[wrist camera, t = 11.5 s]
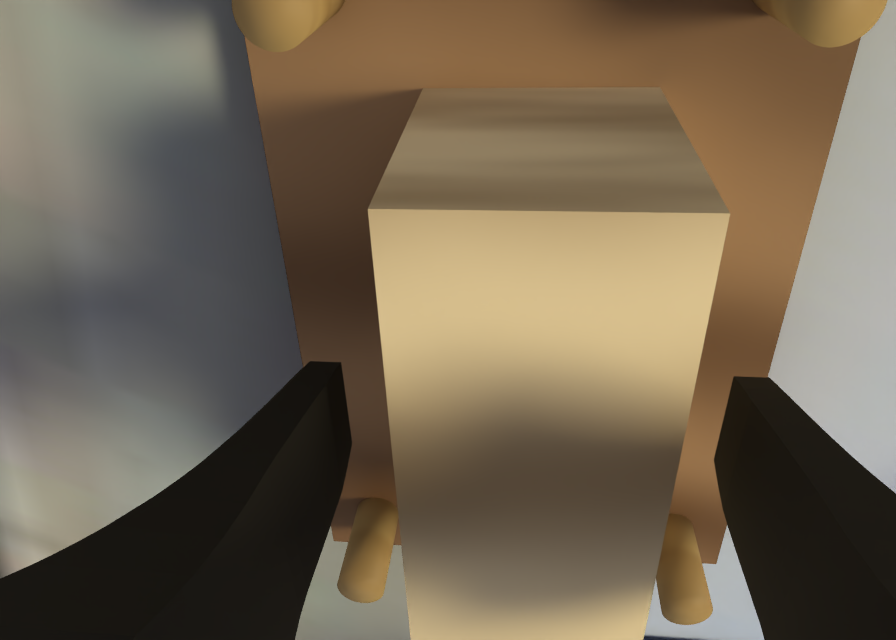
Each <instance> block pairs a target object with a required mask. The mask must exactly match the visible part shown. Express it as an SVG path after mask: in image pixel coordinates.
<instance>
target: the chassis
mask: <svg viewBox="0 0 896 640" xmlns="http://www.w3.org/2000/svg"><path fill="white" fill-rule="evenodd" d="M886 3H887V0H232V10H233V15H234V18H235V21H236V23H237V25H238V27H239V29H240V30H241V32H242V33H243V34H244V36H245V42H246V48H247V53H248V59H249V65H250V70H251V76H252V82H253V87H254V93H255V99H256V104H257V110H258V115H259V121H260V127H261V132H262V138H263V144H264V149H265V155H266V161H267V166H268V172H269V178H270V183H271V189H272V195H273V200H274V206H275V212H276V217H277V223H278V228H279V234H280V240H281V245H282V251H283V257H284V262H285V268H286V274H287V279H288V285H289V291H290V296H291V302H292V308H293V313H294V319H295V325H296V330H297V336H298V342H299V347H300V353H301V358H302V364H303V367H304V366H305V365H306V364H307V363H309V362H310V361H321V362H341V365H342V372H343V379H344V386H345V394H346V401H347V408H348V415H349V423H350V430H351V437H352V447H351V452H350V457H349V462H348V467H347V472H346V477H345V481H344V486H343V490H342V493H341V496H340V499H339V502H338V505H337V508H336V511H335V514H334V517H333V520H332V523H331V528H332V534H333V539H334V541H342V542H348V546H347V549H346V553H345V557H344V561H343V565H342V568H341V572H340V576H339V580H338V584H337V586H338V589H339V591H340V593H341V594H342V595H343V596H345V597H346V598H348V599H350V600H352V601H355V602H360V603H370V602H374V601H377V600H379V599H380V598H381V597H382V596H383V594H384V589H385V583H386V578H387V573H388V568H389V563H390V558H391V553H392V548H393V545H401V536H400V526H399V516H398V506H397V496H396V486H395V476H394V466H393V456H392V446H391V436H390V426H389V416H388V407H387V397H386V387H385V377H384V367H383V357H382V347H381V337H380V327H379V317H378V307H377V297H376V287H375V277H374V267H373V257H372V247H371V237H370V227H369V217H368V207H369V205H370V203H371V201H372V198H373V196H374V194H375V192H376V190H377V188H378V185H379V183H380V181H381V179H382V177H383V174H384V172H385V170H386V168H387V166H388V164H389V161H390V159H391V157H392V155H393V153H394V150H395V148H396V146H397V144H398V142H399V140H400V137H401V135H402V133H403V131H404V129H405V126H406V124H407V122H408V120H409V118H410V116H411V113H412V111H413V109H414V107H415V105H416V102H417V100H418V98H419V96H420V94H421V92H422V89H423V88H608V87H660V88H661V90H662V92H663V93H664V95H665V97H666V99H667V101H668V102H669V104H670V106H671V108H672V110H673V111H674V113H675V115H676V117H677V119H678V120H679V122H680V124H681V126H682V128H683V129H684V131H685V133H686V135H687V137H688V138H689V140H690V142H691V144H692V146H693V147H694V149H695V151H696V153H697V154H698V156H699V158H700V160H701V162H702V163H703V165H704V167H705V169H706V171H707V172H708V174H709V176H710V178H711V180H712V181H713V183H714V185H715V187H716V189H717V190H718V192H719V194H720V196H721V198H722V199H723V201H724V203H725V205H726V207H727V208H728V210H729V212H730V217H729V222H728V227H727V232H726V237H725V242H724V247H723V252H722V257H721V261H720V266H719V271H718V276H717V281H716V286H715V291H714V296H713V301H712V306H711V310H710V315H709V320H708V325H707V330H706V335H705V340H704V345H703V350H702V354H701V359H700V364H699V369H698V374H697V379H696V384H695V389H694V394H693V398H692V403H691V408H690V413H689V418H688V423H687V428H686V433H685V438H684V442H683V447H682V452H681V457H680V462H679V467H678V472H677V477H676V482H675V486H674V491H673V496H672V501H671V506H670V511H669V516H668V521H667V526H666V530H665V535H664V540H663V545H662V550H661V555H660V560H659V565H658V570H657V574H656V582H657V587H658V593H659V599H660V605H661V610H662V614H663V616H664V617H665V618H666V619H667V620H669V621H671V622H673V623H676V624H681V625H691V624H697V623H700V622H702V621H704V620H706V619H707V618H708V617H709V616H710V615H711V614H712V611H713V607H712V603H711V599H710V595H709V591H708V586H707V582H706V578H705V574H704V570H703V566H702V563H708V564H716V563H717V559H718V555H719V552H720V548H721V544H722V541H723V537H724V533H725V530H726V526H727V522H726V519H725V515H724V512H723V508H722V503H721V498H720V493H719V488H718V482H717V477H716V471H715V465H714V456H715V452H716V448H717V444H718V440H719V435H720V431H721V427H722V423H723V419H724V414H725V410H726V406H727V402H728V398H729V394H730V389H731V385H732V381H733V377H734V376H741V377H768V373H769V370H770V366H771V362H772V359H773V355H774V351H775V348H776V344H777V340H778V337H779V333H780V330H781V326H782V322H783V319H784V315H785V311H786V308H787V304H788V300H789V297H790V293H791V289H792V286H793V282H794V279H795V275H796V271H797V268H798V264H799V260H800V257H801V253H802V249H803V246H804V242H805V238H806V235H807V231H808V228H809V224H810V220H811V217H812V213H813V209H814V206H815V202H816V198H817V195H818V191H819V187H820V184H821V180H822V177H823V173H824V169H825V166H826V162H827V158H828V155H829V151H830V147H831V144H832V140H833V136H834V133H835V129H836V126H837V122H838V118H839V115H840V111H841V107H842V104H843V100H844V96H845V93H846V89H847V85H848V82H849V78H850V75H851V71H852V67H853V64H854V60H855V56H856V53H857V49H858V45H859V42H860V38H861V36H863V35H864V34H865V33H867V32H868V31H869V30H870V29H871V28H872V27H873V26H874V25H875V23H876V22H877V21H878V19H879V18H880V16H881V14H882V13H883V11H884V8H885V6H886Z"/></svg>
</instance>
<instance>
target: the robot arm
mask: <svg viewBox="0 0 896 640" xmlns="http://www.w3.org/2000/svg"><path fill="white" fill-rule="evenodd" d="M351 447H352V437H351V430H350V423H349V415H348V408H347V401H346V394H345V386H344V379H343V372H342V365H341V362H321V361H310V362H309V363H307V364H306V365H305V366H304V367H303V368H302V369H301V370H300V371H299V372H298V373H297V374H296V375H295V376H294V377H293V378H292V379H291V380H290V381H289V382H288V383H287V384H286V385H285V386H284V387H283V388H282V389H281V390H280V391H279V392H278V393H277V394H276V395H275V396H274V397H273V398H272V399H271V400H270V401H269V402H268V403H267V404H266V405H265V406H264V407H263V408H262V409H261V410H260V411H258V412H257V413H256V414H255V415H254V416H253V417H252V418H251V419H250V420H249V421H248V422H247V423H246V424H245V425H244V426H243V427H242V428H241V429H239V430H238V431H237V432H236V433H235V434H234V435H233V436H232V437H230V438H229V439H228V440H227V441H226V442H225V443H223V444H222V445H221V446H220V447H219V448H218V449H216V450H215V451H214V452H213V453H212V454H211V455H209V456H208V457H207V458H206V459H205V460H203V461H202V462H201V463H200V464H198V465H197V466H196V467H194V468H193V469H192V470H191V471H189V472H188V473H187V474H185V475H184V476H182V477H181V478H180V479H178V480H177V481H175V482H174V483H173V484H171V485H170V486H168V487H167V488H166V489H164V490H163V491H161V492H160V493H158V494H157V495H155V496H154V497H153V498H151V499H149V500H148V501H146V502H144V503H143V504H141V505H140V506H138V507H136V508H135V509H133V510H132V511H130V512H128V513H127V514H125V515H124V516H122V517H120V518H119V519H117V520H115V521H114V522H112V523H111V524H109V525H107V526H106V527H104V528H102V529H100V530H98V531H97V532H95V533H93V534H91V535H89V536H88V537H86V538H84V539H82V540H80V541H78V542H77V543H75V544H73V545H71V546H69V547H67V548H65V549H63V550H61V551H59V552H57V553H55V554H53V555H51V556H49V557H47V558H45V559H43V560H41V561H39V562H37V563H35V564H32V565H30V566H28V567H26V568H23V569H21V570H19V571H17V572H14V573H12V574H10V575H8V576H5V577H3V578H1V579H0V640H295V636H296V632H297V628H298V623H299V619H300V615H301V612H302V608H303V605H304V602H305V598H306V595H307V592H308V589H309V586H310V583H311V580H312V577H313V574H314V572H315V569H316V566H317V563H318V560H319V557H320V554H321V552H322V549H323V546H324V543H325V540H326V537H327V534H328V532H329V529H330V526H331V523H332V520H333V517H334V514H335V511H336V508H337V505H338V502H339V499H340V496H341V493H342V490H343V486H344V481H345V477H346V472H347V467H348V462H349V457H350V452H351ZM714 465H715V471H716V477H717V482H718V488H719V493H720V498H721V503H722V508H723V512H724V515H725V519H726V522H727V525H728V528H729V531H730V534H731V537H732V540H733V543H734V546H735V550H736V553H737V556H738V559H739V562H740V565H741V568H742V571H743V574H744V576H745V579H746V582H747V585H748V588H749V591H750V594H751V597H752V600H753V604H754V607H755V610H756V613H757V616H758V619H759V622H760V625H761V628H762V632H763V635H764V639H765V640H896V494H895V493H894V492H893V491H892V490H891V489H889V488H888V487H887V486H886V485H885V484H883V483H882V482H881V481H880V480H879V479H877V478H876V477H875V476H874V475H873V474H871V473H870V472H869V471H868V470H867V469H866V468H864V467H863V466H862V465H861V464H860V463H859V462H858V461H856V460H855V459H854V458H853V457H852V456H851V455H850V454H849V453H848V452H846V451H845V450H844V449H843V448H842V447H841V446H840V445H839V444H838V443H837V442H836V441H835V440H833V439H832V438H831V437H830V436H829V435H828V434H827V433H826V432H825V431H824V430H823V429H822V428H821V427H820V426H819V425H818V424H817V423H816V422H815V421H814V420H813V419H811V418H810V417H809V416H808V415H807V414H806V413H805V412H804V411H803V410H802V409H801V408H800V407H799V406H798V405H797V404H796V403H795V402H794V401H793V400H792V399H791V398H790V397H789V396H788V395H787V394H786V393H785V392H784V391H783V390H782V389H781V388H780V387H779V386H778V385H777V384H776V383H774V382H773V381H772V380H771V379H770V378H769V377H741V376H734V377H733V381H732V385H731V389H730V394H729V398H728V402H727V406H726V410H725V414H724V419H723V423H722V427H721V431H720V435H719V440H718V444H717V448H716V452H715V456H714Z"/></svg>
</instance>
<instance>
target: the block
mask: <svg viewBox="0 0 896 640" xmlns="http://www.w3.org/2000/svg"><path fill="white" fill-rule="evenodd" d="M368 217H369V227H370V237H371V247H372V257H373V267H374V277H375V287H376V297H377V307H378V317H379V327H380V337H381V347H382V357H383V367H384V377H385V387H386V397H387V407H388V416H389V426H390V436H391V446H392V456H393V466H394V476H395V486H396V496H397V506H398V516H399V526H400V536H401V546H402V556H403V566H404V576H405V586H406V596H407V606H408V616H409V626H410V636H411V640H643V638H644V633H645V628H646V623H647V619H648V614H649V609H650V604H651V599H652V594H653V589H654V584H655V579H656V574H657V570H658V565H659V560H660V555H661V550H662V545H663V540H664V535H665V530H666V526H667V521H668V516H669V511H670V506H671V501H672V496H673V491H674V486H675V482H676V477H677V472H678V467H679V462H680V457H681V452H682V447H683V442H684V438H685V433H686V428H687V423H688V418H689V413H690V408H691V403H692V398H693V394H694V389H695V384H696V379H697V374H698V369H699V364H700V359H701V354H702V350H703V345H704V340H705V335H706V330H707V325H708V320H709V315H710V310H711V306H712V301H713V296H714V291H715V286H716V281H717V276H718V271H719V266H720V261H721V257H722V252H723V247H724V242H725V237H726V232H727V227H728V222H729V217H730V212H729V210H728V208H727V207H726V205H725V203H724V201H723V199H722V198H721V196H720V194H719V192H718V190H717V189H716V187H715V185H714V183H713V181H712V180H711V178H710V176H709V174H708V172H707V171H706V169H705V167H704V165H703V163H702V162H701V160H700V158H699V156H698V154H697V153H696V151H695V149H694V147H693V146H692V144H691V142H690V140H689V138H688V137H687V135H686V133H685V131H684V129H683V128H682V126H681V124H680V122H679V120H678V119H677V117H676V115H675V113H674V111H673V110H672V108H671V106H670V104H669V102H668V101H667V99H666V97H665V95H664V93H663V92H662V90H661V88H660V87H608V88H423V89H422V92H421V94H420V96H419V98H418V100H417V102H416V105H415V107H414V109H413V111H412V113H411V116H410V118H409V120H408V122H407V124H406V126H405V129H404V131H403V133H402V135H401V137H400V140H399V142H398V144H397V146H396V148H395V150H394V153H393V155H392V157H391V159H390V161H389V164H388V166H387V168H386V170H385V172H384V174H383V177H382V179H381V181H380V183H379V185H378V188H377V190H376V192H375V194H374V196H373V198H372V201H371V203H370V205H369V207H368Z"/></svg>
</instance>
